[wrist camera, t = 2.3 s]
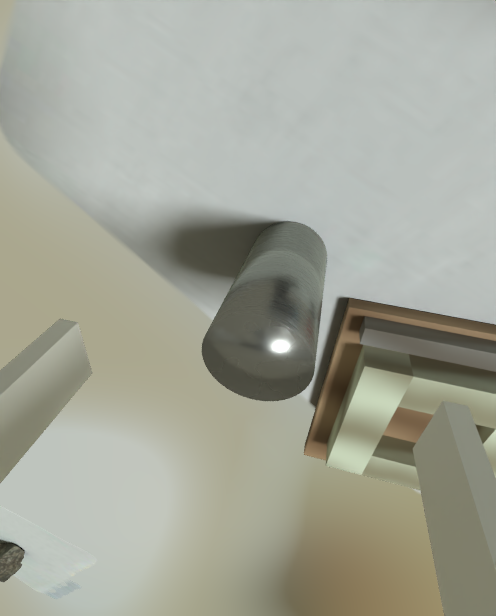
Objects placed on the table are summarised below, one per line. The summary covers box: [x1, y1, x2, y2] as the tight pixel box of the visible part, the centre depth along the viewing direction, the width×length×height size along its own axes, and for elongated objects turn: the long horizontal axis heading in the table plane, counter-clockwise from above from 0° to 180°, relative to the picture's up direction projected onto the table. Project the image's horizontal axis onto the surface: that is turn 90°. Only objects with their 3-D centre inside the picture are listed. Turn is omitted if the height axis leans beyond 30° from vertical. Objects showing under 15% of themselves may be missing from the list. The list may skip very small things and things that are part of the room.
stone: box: [0, 543, 25, 582], centre depth 80 cm, size 14×7×10 cm, turn 139°
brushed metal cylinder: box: [202, 222, 327, 401], centre depth 16 cm, size 4×4×9 cm
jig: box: [304, 298, 496, 490], centre depth 23 cm, size 16×14×3 cm
